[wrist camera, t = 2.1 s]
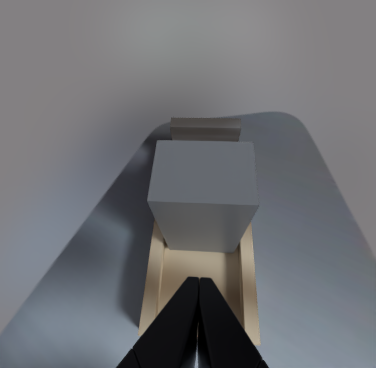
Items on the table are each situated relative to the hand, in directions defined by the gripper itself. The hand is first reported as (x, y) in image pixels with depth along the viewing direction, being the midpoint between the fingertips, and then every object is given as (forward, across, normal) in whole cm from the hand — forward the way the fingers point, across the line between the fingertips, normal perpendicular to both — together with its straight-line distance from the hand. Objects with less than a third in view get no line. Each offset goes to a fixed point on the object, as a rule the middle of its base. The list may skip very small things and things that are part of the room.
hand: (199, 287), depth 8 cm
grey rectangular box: (+12, 0, +4) cm, 13 cm away
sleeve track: (+14, 0, +5) cm, 15 cm away
